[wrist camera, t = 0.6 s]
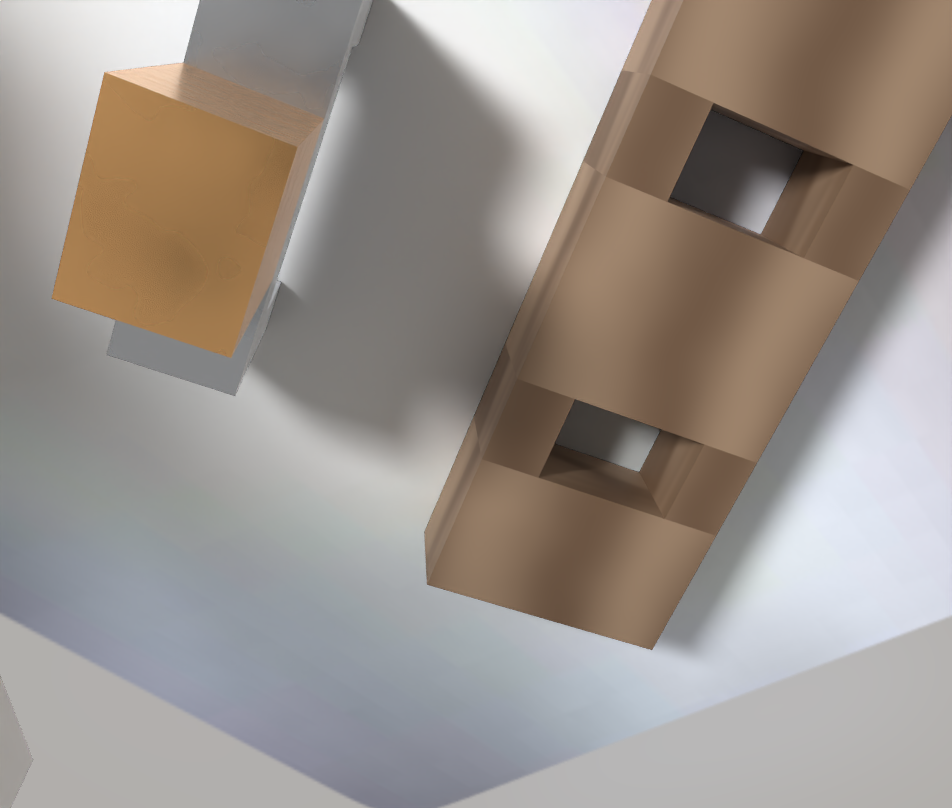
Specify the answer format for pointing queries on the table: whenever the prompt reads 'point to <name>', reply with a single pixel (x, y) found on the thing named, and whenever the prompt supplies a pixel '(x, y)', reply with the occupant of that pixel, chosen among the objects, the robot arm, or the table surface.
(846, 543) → the table surface
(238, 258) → the clip
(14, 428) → the table surface
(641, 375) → the slotted wooden block
